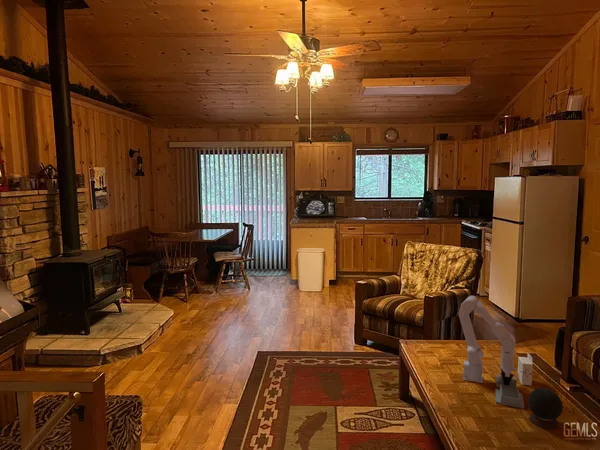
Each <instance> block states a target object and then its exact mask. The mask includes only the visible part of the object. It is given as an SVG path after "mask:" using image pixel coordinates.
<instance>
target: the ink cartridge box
mask: <svg viewBox="0 0 600 450" xmlns="http://www.w3.org/2000/svg"><path fill="white" fill-rule="evenodd" d="M517 359H518V360H517V376H516V379H517V380H518V381H519V383H520V384H521V385H522V386H533V385H532V384H533V383H532V382H533V381H532V379H533V366H534V365H533V364H534V363H533V362H534V361H533V357H532V356H531V355H530V354H529V352H527V357H524V356H518V357H517Z"/></svg>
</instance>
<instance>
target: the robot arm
mask: <svg viewBox="0 0 600 450" xmlns="http://www.w3.org/2000/svg"><path fill="white" fill-rule="evenodd" d="M483 304H484V303H482V301H481V300H479V298H478V297H477V296H475V295H469V296H468V297H467V298H465V300H464V301H462V303H461V304H460V307H459V310H458V318H459V321H460V325H461V329H462V331H463V335H464V338H465V342H466V346H467V348H466V349H467V351H466V352H467V356H466V357H467V360H464V361H463V371H462V375H463V377H462V380H463V381H470V382H473V383H478V384H479V383H480V384H483V383H484V381H483V379H484V378H483V377H484V376H483V365H484V364H483V361H482V359H483V358H484V352H483V350H482V348H481V347H480V345H479V343H478V342H477V338H476V334H475V330H474V327H473V323H472V320H471V317H470V314H471V312H473V313H474V314H479V315H480V316H481V318H483V319H484V320H485V321H486V323H488V325H489V326H490V330H491V331H492V333H493V334H494V335H495V336H496V338H497V339H498V340H500V345H501V346H502V347H501V358H500V371H501V372H500V374H501V375H502V378H503V383H504V385H508V386H509V384H510V381H511V379H512V377H513V376H514V374H513V371H516V370H517V368H516V367H514V365H515V364H514V361H515V360H514V359H515V344H516V338H515V336H514V335H513V334H511V333H510V332H508V331H507V329H506V328H505V325H504V324H502V323H501V322H497V321H496V320H495V318H494V317H493V316H492V315H491V313H490V312H489V311H488V309H487V308H486V307H485V306H484V305H483Z"/></svg>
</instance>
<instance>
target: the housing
mask: <svg viewBox="0 0 600 450" xmlns="http://www.w3.org/2000/svg"><path fill="white" fill-rule="evenodd" d="M495 379H496V380H495V386H496V388H500V384H502V385H504V383H503V378H502V375H501V373H496V377H495ZM517 380H518V379H517V376H515V375H513V377H512V379H511V381H510V384H509V386H513V387H517Z"/></svg>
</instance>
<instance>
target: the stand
mask: <svg viewBox="0 0 600 450" xmlns="http://www.w3.org/2000/svg"><path fill="white" fill-rule="evenodd" d="M494 392H495V404H498V405H503V406H509V407H513V408H519V409H525V402H524V396H523V393H521V392H520V391H519V387H518V386H516V387H513V386H508V385H502V384H500V387H499V389H498V388H495V390H494Z"/></svg>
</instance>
